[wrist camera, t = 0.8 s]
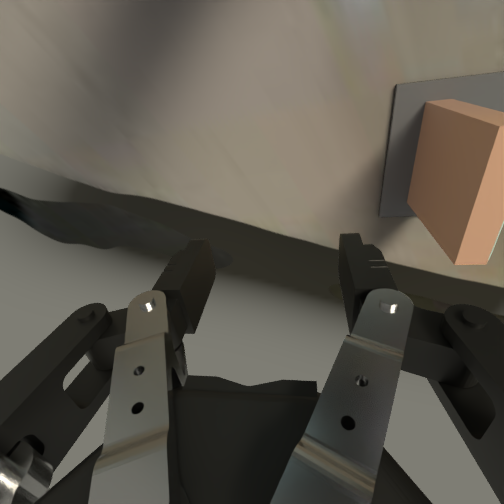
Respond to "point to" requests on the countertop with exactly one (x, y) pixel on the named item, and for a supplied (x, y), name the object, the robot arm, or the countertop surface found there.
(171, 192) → the countertop surface
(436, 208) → the tile
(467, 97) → the mat
